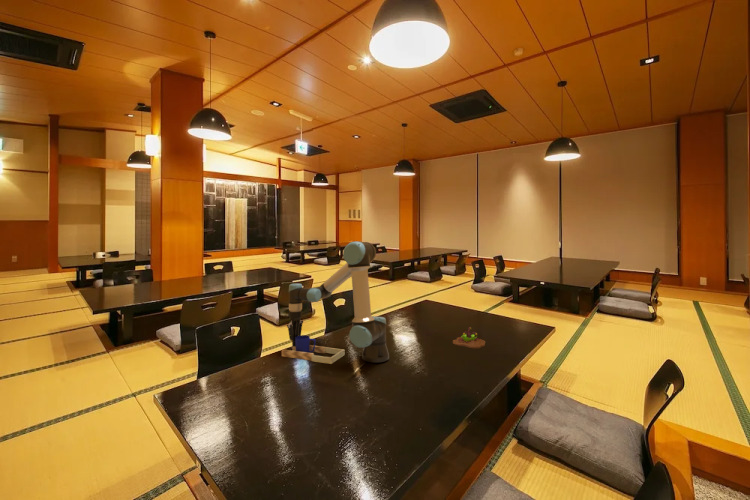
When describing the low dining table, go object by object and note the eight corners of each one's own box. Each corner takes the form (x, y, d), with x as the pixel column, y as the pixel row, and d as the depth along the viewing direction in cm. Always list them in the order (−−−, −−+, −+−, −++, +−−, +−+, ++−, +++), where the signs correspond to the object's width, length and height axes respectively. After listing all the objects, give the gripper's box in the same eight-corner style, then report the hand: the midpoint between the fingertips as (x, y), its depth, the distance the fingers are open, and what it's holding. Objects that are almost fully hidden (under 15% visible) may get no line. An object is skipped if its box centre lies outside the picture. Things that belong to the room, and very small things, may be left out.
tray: (344, 354, 184) (344, 349, 184) (331, 363, 169) (331, 358, 169) (326, 352, 188) (326, 347, 188) (311, 361, 173) (311, 355, 173)
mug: (312, 357, 179) (312, 339, 179) (292, 356, 181) (292, 338, 181) (318, 353, 187) (318, 335, 187) (298, 351, 189) (298, 334, 189)
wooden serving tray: (325, 352, 187) (325, 346, 187) (312, 360, 174) (312, 354, 174) (296, 349, 195) (296, 343, 195) (281, 356, 181) (281, 350, 181)
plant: (489, 343, 208) (489, 326, 208) (480, 351, 192) (480, 332, 192) (459, 339, 219) (459, 322, 219) (448, 346, 203) (448, 328, 203)
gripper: (296, 308, 194) (296, 347, 194) (283, 311, 182) (282, 353, 182) (307, 309, 191) (306, 348, 191) (294, 312, 179) (294, 355, 179)
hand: (295, 351), depth 187 cm, fingers closed, pressing on mug
